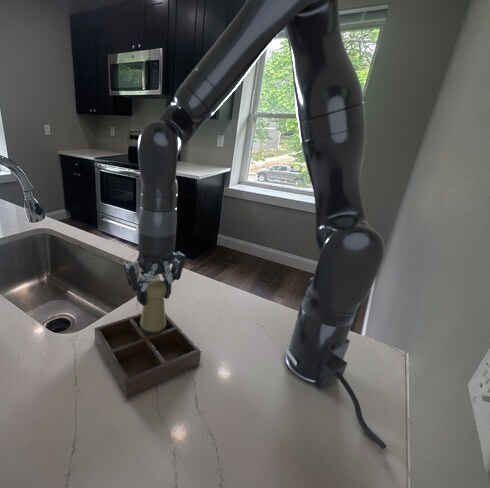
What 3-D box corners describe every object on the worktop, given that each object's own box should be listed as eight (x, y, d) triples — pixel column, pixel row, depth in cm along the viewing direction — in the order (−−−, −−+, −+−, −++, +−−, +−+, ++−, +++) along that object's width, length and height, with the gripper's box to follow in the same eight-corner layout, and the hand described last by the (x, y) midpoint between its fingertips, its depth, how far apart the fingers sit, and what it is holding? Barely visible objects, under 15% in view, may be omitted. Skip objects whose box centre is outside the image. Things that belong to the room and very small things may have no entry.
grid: (199, 365, 62) (201, 350, 61) (126, 399, 54) (126, 383, 53) (159, 320, 75) (159, 307, 74) (95, 342, 67) (94, 328, 66)
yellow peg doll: (163, 334, 65) (165, 291, 61) (136, 329, 66) (137, 287, 62) (168, 317, 71) (171, 277, 66) (143, 313, 72) (144, 273, 67)
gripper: (133, 241, 53) (132, 319, 59) (197, 229, 60) (190, 300, 67) (116, 227, 58) (117, 299, 65) (177, 218, 66) (172, 284, 72)
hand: (154, 299), depth 66 cm, fingers closed on yellow peg doll, 5 cm apart
